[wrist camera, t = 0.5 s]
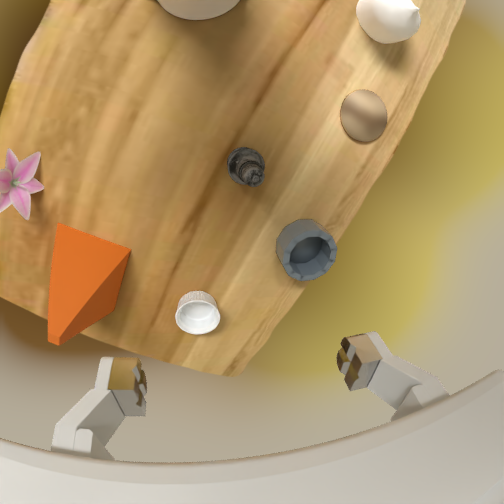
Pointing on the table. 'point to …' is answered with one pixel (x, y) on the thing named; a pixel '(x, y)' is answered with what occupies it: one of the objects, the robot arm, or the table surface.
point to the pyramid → (82, 281)
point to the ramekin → (197, 313)
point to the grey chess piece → (246, 167)
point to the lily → (19, 182)
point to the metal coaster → (363, 115)
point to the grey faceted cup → (306, 250)
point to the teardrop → (388, 19)
